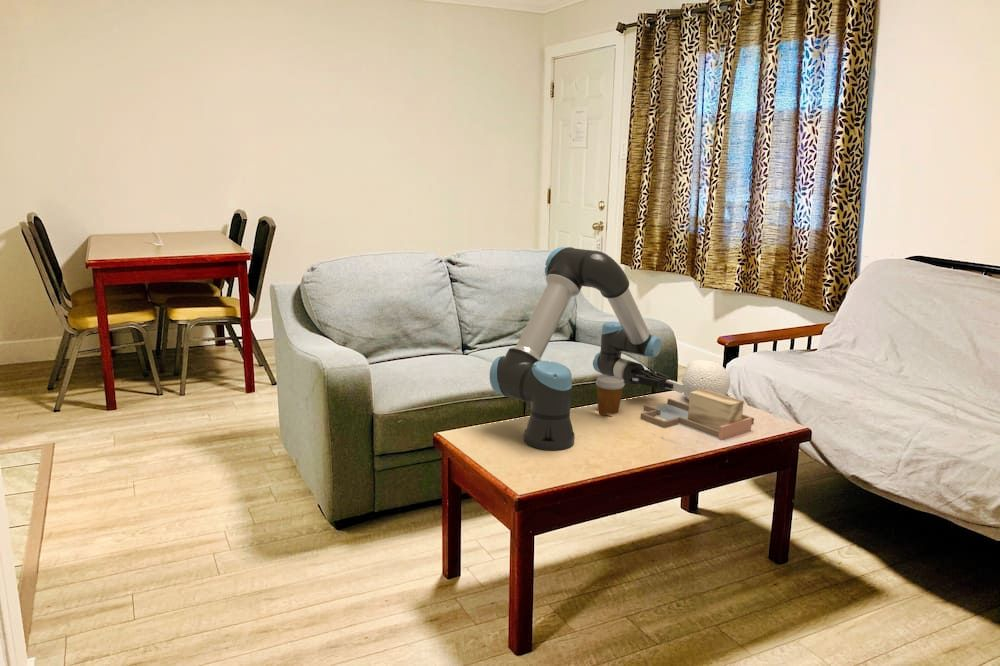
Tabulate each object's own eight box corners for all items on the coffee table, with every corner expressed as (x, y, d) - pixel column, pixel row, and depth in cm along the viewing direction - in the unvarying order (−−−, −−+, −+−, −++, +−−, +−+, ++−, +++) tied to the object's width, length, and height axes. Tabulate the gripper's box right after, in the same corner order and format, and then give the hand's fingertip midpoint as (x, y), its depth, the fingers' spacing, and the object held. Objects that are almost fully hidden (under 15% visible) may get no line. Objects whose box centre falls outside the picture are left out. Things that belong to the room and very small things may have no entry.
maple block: (726, 436, 234) (730, 405, 232) (687, 422, 245) (690, 392, 243) (740, 431, 238) (743, 401, 236) (700, 418, 250) (703, 388, 247)
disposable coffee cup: (624, 419, 250) (626, 384, 247) (595, 418, 250) (597, 383, 247) (620, 409, 259) (622, 375, 256) (592, 408, 259) (594, 374, 256)
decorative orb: (696, 415, 256) (700, 369, 252) (662, 399, 271) (666, 356, 268) (741, 407, 265) (745, 363, 261) (705, 393, 280) (709, 351, 277)
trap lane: (706, 448, 227) (708, 431, 226) (627, 417, 251) (628, 402, 250) (762, 430, 244) (764, 414, 242) (683, 403, 268) (684, 388, 267)
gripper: (641, 379, 273) (694, 396, 255) (615, 384, 265) (668, 402, 247) (643, 359, 271) (696, 374, 253) (617, 363, 263) (670, 380, 245)
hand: (682, 388), depth 250 cm, fingers closed
